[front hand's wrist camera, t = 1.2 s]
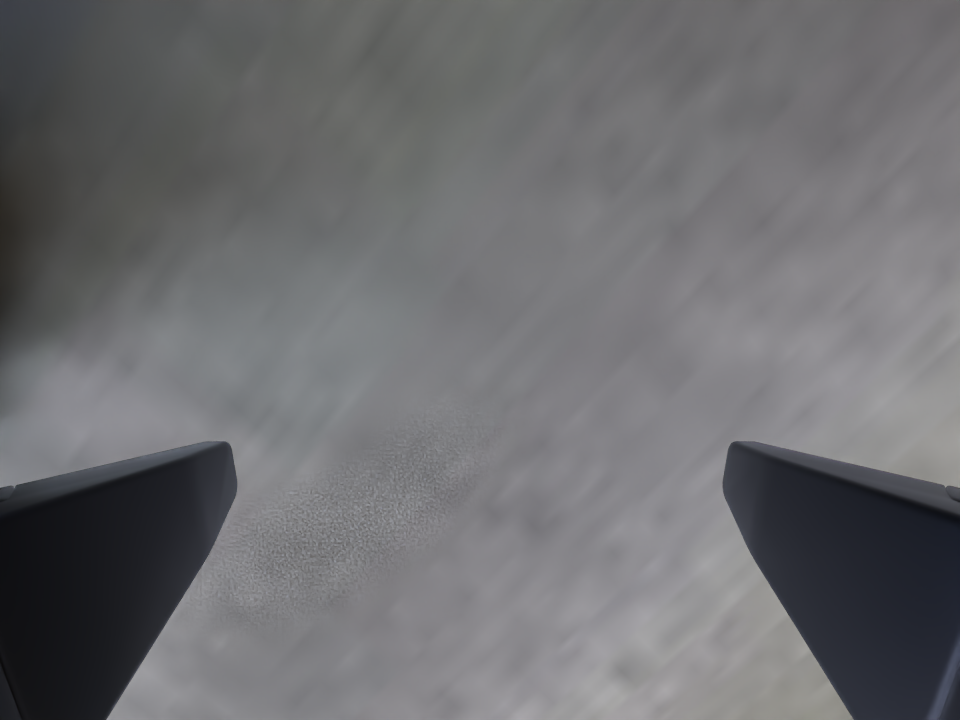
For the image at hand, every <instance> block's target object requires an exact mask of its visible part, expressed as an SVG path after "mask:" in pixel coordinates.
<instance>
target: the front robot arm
mask: <svg viewBox="0 0 960 720" xmlns="http://www.w3.org/2000/svg"><path fill="white" fill-rule="evenodd" d="M236 492H237V478H236V472H235V466H234V460H233V454H232V449H231V446H230V445H229V443H227V442H225V441H213V442H202V443H197V444H193V445H189V446H184V447H180V448H176V449H171V450H167V451H163V452H158V453H154V454H150V455H145V456H141V457H137V458H132V459H128V460H124V461H119V462H115V463H111V464H106V465H102V466H97V467H93V468H89V469H84V470H80V471H76V472H71V473H67V474H63V475H58V476H54V477H50V478H45V479H41V480H37V481H32V482H28V483H24V484H19V485H16V486H15V488H14V487H13V486H7V487H3V488H0V720H106V719H107V718H108V716H109V714H110V713H111V711H112V710H113V708H114V706H115V705H116V703H117V702H118V700H119V698H120V697H121V695H122V694H123V692H124V690H125V689H126V687H127V685H128V684H129V682H130V681H131V679H132V677H133V676H134V674H135V673H136V671H137V669H138V668H139V666H140V665H141V663H142V661H143V660H144V658H145V657H146V655H147V653H148V652H149V650H150V649H151V647H152V645H153V644H154V642H155V640H156V639H157V637H158V636H159V634H160V632H161V631H162V629H163V628H164V626H165V624H166V623H167V621H168V620H169V618H170V616H171V615H172V613H173V612H174V610H175V608H176V607H177V605H178V604H179V602H180V600H181V599H182V597H183V595H184V594H185V592H186V591H187V589H188V587H189V586H190V584H191V583H192V581H193V579H194V578H195V576H196V575H197V573H198V571H199V570H200V568H201V567H202V565H203V563H204V562H205V560H206V558H207V556H208V555H209V553H210V551H211V549H212V547H213V545H214V543H215V541H216V538H217V536H218V534H219V532H220V530H221V527H222V525H223V523H224V521H225V518H226V516H227V514H228V512H229V510H230V507H231V505H232V503H233V501H234V499H235V496H236ZM723 492H724V496H725V499H726V501H727V503H728V505H729V507H730V510H731V512H732V514H733V516H734V518H735V521H736V523H737V525H738V527H739V530H740V532H741V534H742V536H743V538H744V541H745V543H746V545H747V547H748V549H749V551H750V553H751V555H752V556H753V558H754V560H755V562H756V563H757V565H758V567H759V568H760V570H761V571H762V573H763V575H764V576H765V578H766V579H767V581H768V583H769V584H770V586H771V587H772V589H773V591H774V592H775V594H776V595H777V597H778V599H779V600H780V602H781V603H782V605H783V607H784V608H785V610H786V611H787V613H788V615H789V616H790V618H791V620H792V621H793V623H794V624H795V626H796V628H797V629H798V631H799V632H800V634H801V636H802V637H803V639H804V640H805V642H806V644H807V645H808V647H809V648H810V650H811V652H812V653H813V655H814V656H815V658H816V660H817V661H818V663H819V665H820V666H821V668H822V669H823V671H824V673H825V674H826V676H827V677H828V679H829V681H830V682H831V684H832V685H833V687H834V689H835V690H836V692H837V693H838V695H839V697H840V698H841V700H842V702H843V703H844V705H845V706H846V708H847V710H848V711H849V713H850V714H851V716H852V718H853V719H854V720H960V488H957V487H953V486H947V487H946V488H945V486H944V485H941V484H937V483H932V482H928V481H923V480H919V479H915V478H910V477H906V476H902V475H897V474H893V473H889V472H884V471H880V470H876V469H871V468H867V467H863V466H858V465H854V464H850V463H845V462H841V461H837V460H832V459H828V458H824V457H819V456H815V455H810V454H806V453H802V452H797V451H793V450H789V449H784V448H780V447H776V446H771V445H767V444H763V443H758V442H747V441H735V442H733V443H731V445H730V446H729V449H728V454H727V460H726V466H725V472H724V478H723Z"/></svg>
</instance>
